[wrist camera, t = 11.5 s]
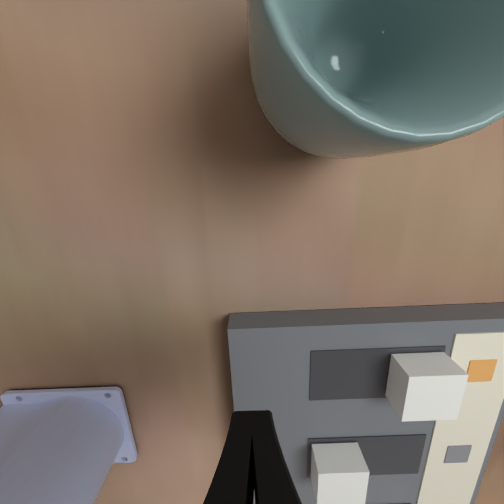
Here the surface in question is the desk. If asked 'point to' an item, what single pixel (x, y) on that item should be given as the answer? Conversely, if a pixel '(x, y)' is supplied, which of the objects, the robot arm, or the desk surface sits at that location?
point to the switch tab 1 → (339, 473)
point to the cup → (376, 72)
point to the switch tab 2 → (425, 386)
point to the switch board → (373, 392)
